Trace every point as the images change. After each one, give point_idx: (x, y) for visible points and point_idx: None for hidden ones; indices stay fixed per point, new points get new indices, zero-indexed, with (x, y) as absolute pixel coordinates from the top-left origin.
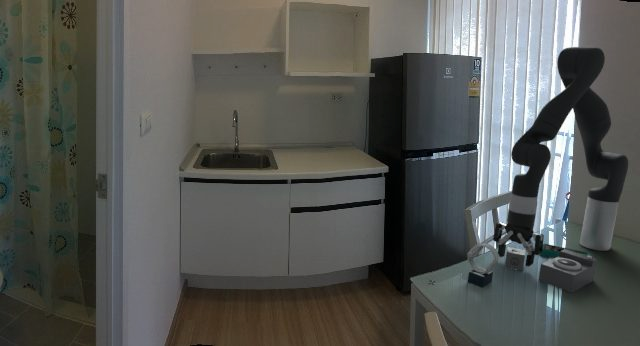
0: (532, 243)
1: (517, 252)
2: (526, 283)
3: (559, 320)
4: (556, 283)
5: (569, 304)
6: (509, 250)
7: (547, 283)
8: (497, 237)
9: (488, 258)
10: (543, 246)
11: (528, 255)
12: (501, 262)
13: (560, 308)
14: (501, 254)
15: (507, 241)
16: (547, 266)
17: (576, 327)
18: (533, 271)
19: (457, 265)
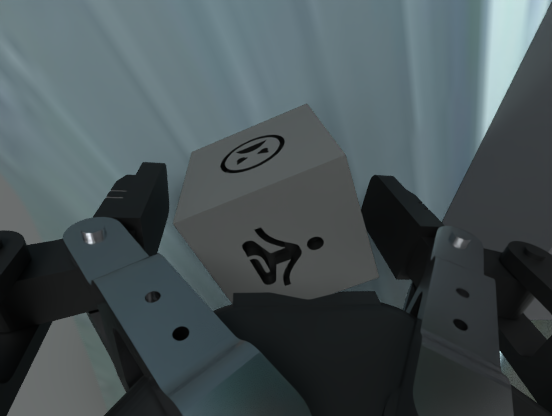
0: (490, 290)
1: (310, 272)
2: (388, 304)
3: None
4: None
5: (535, 323)
6: (242, 286)
7: None
8: (34, 348)
9: (83, 192)
10: None
11: (407, 276)
12: (182, 183)
13: (502, 357)
14: (164, 218)
15: (141, 252)
16: (530, 317)
17: (527, 391)
18: (392, 151)
19: (98, 373)
